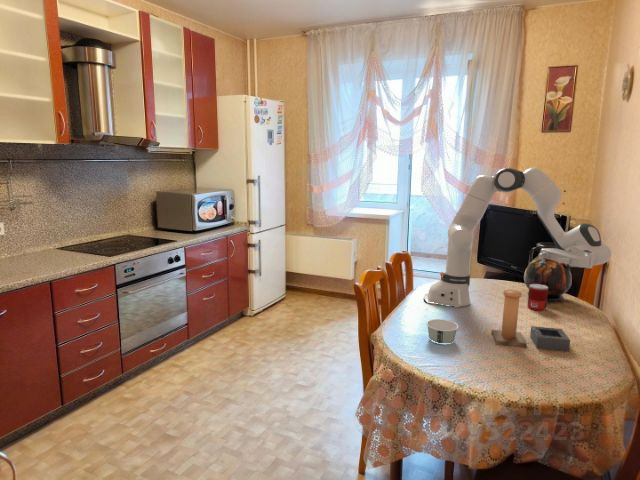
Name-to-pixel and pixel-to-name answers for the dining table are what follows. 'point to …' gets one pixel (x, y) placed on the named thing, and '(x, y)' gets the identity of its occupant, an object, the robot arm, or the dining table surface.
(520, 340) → the walnut board
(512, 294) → the tan peg
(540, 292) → the canned food
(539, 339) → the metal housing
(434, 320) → the food container
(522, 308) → the dining table surface
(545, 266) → the amphora vase
